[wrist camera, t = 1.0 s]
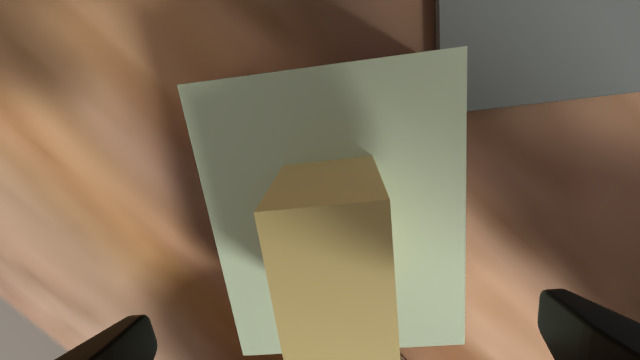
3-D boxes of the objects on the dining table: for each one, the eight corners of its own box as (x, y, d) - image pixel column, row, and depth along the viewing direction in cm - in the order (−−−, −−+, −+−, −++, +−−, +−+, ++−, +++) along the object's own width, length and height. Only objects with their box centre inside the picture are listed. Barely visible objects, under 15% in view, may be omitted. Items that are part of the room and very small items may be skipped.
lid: (449, 49, 11) (550, 27, 6) (450, 314, 15) (516, 456, 9) (198, 83, 12) (83, 90, 7) (253, 326, 15) (206, 463, 10)
